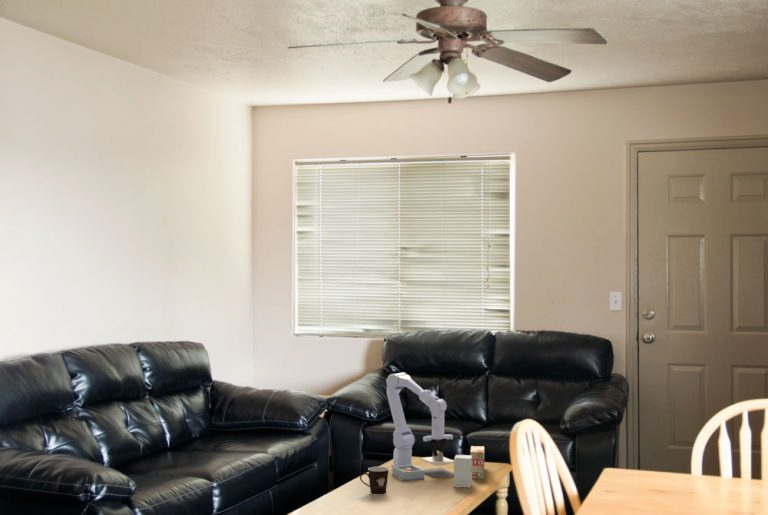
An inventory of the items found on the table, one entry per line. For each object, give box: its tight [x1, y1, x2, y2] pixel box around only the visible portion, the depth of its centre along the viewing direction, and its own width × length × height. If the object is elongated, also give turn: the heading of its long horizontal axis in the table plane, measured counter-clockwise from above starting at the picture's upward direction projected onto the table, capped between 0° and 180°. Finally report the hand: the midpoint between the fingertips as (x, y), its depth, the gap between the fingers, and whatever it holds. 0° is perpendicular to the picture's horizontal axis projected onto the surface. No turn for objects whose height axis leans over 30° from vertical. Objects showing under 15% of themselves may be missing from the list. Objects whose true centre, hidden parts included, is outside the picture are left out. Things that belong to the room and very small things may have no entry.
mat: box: [423, 467, 454, 478], centre depth 408 cm, size 14×12×1 cm
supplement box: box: [453, 454, 473, 488], centre depth 385 cm, size 7×7×13 cm
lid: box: [420, 450, 454, 466], centre depth 409 cm, size 13×11×5 cm
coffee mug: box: [359, 466, 390, 495], centre depth 372 cm, size 12×9×10 cm
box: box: [392, 464, 425, 482], centre depth 400 cm, size 12×10×4 cm
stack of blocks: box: [469, 445, 485, 479], centre depth 409 cm, size 21×6×12 cm, turn 173°
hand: (437, 455), depth 409 cm, fingers closed on lid, 2 cm apart
